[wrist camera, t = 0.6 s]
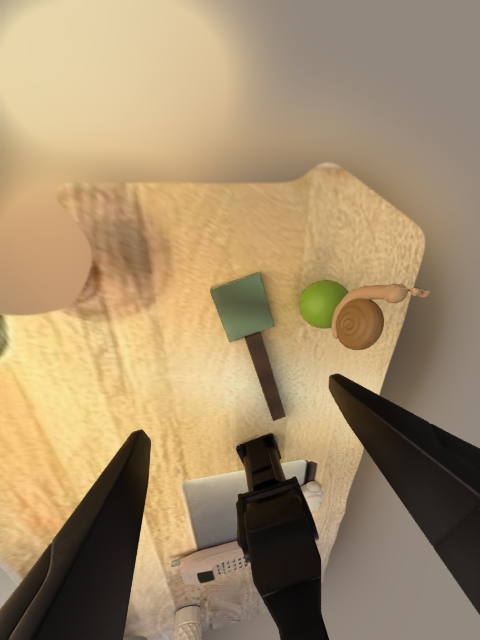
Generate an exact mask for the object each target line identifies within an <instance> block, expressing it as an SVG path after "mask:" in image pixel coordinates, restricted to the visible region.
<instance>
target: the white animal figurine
mask: <svg viewBox="0 0 480 640" xmlns="http://www.w3.org/2000/svg"><path fill="white" fill-rule="evenodd" d="M301 490H302V492H303V494H304V497H305V499H306V501H307V504H308V506H309V509H310V511H311V513H313V512H315V511H316V510H317V509H319V507H320V506H321V504H322V501H323V498H324V495H323V490H322V488H321V486H320V485H319V484H317V483H316V482H315V481H310V482H308V483H307V484H306V485H303V486H301Z"/></svg>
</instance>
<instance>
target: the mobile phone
mask: <svg viewBox="0 0 480 640" xmlns="http://www.w3.org/2000/svg"><path fill="white" fill-rule="evenodd" d="M178 565H181V567H180V573H181V575H182V578H183V580H184V583H185V584H187V585H188V584H201V583H207V582H210V581H214V580H215V579H216V577H218V576H221V575H224V574H227V573H230V572H233V571H236V570H239V569H242V568H245V567H248V566H251V564H250V563H248V564H247V563H246V561H245V557H244V554H243V551H242V549H241V548H240V547H239V546H238V543H237V541H234V542H230V543H226V544H222V545H218V546H215V547H211V548H207V549H204V550H200V551H197V552H195V553H193V554H191V555H189V556H186V557H183V558H180V559H177V560H174V561H172V562H171V567H173V566H178Z"/></svg>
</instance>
